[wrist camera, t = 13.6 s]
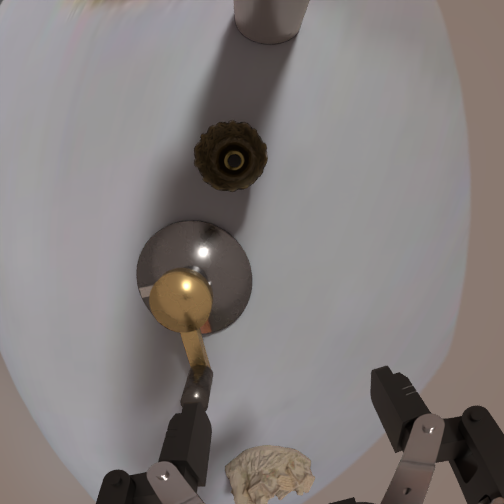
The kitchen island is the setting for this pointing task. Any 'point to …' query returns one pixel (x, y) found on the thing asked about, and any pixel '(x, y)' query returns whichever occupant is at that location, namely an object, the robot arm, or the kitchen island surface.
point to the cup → (222, 147)
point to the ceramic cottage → (268, 474)
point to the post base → (200, 266)
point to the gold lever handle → (186, 324)
